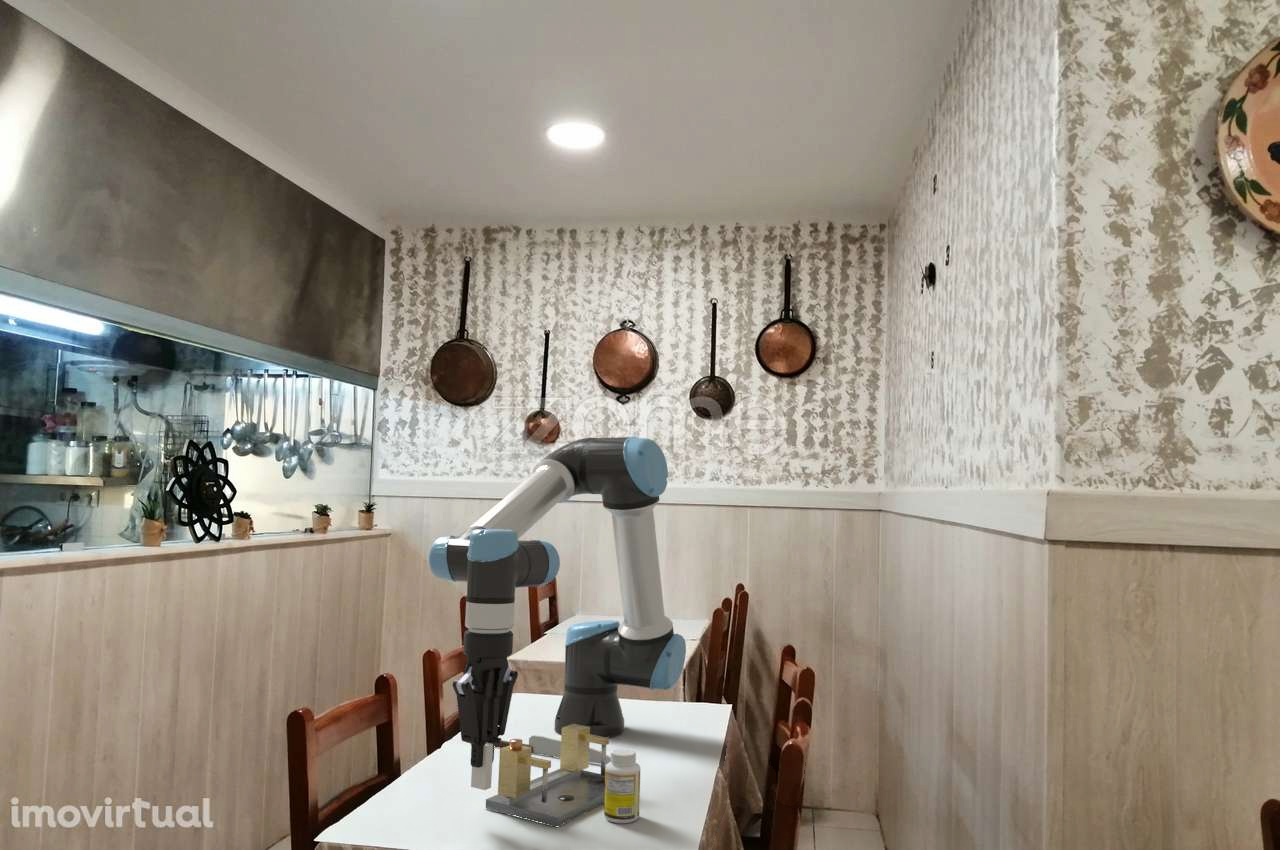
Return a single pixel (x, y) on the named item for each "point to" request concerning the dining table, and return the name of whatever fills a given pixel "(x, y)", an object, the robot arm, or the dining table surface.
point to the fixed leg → (579, 748)
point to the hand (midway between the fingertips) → (480, 787)
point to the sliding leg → (519, 770)
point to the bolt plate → (555, 797)
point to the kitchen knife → (553, 748)
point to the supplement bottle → (622, 787)
